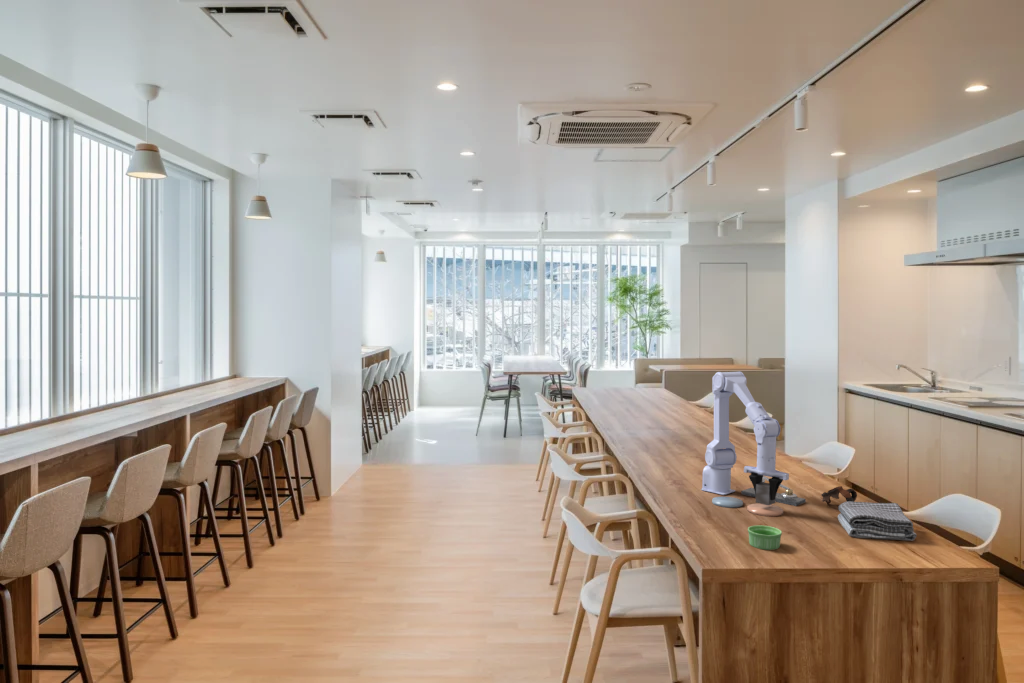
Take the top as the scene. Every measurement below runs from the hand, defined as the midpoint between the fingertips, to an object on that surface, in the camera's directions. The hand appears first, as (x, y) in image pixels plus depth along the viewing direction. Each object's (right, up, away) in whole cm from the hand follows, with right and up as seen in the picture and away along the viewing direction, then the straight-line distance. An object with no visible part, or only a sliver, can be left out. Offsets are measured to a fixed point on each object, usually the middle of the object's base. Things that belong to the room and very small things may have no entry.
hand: (765, 497), depth 228 cm
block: (0, -2, 0) cm, 2 cm away
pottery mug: (+27, -5, +5) cm, 28 cm away
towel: (+25, -6, -20) cm, 33 cm away
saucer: (-10, -4, +9) cm, 14 cm away
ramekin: (-12, -6, -32) cm, 35 cm away
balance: (+8, -4, +16) cm, 19 cm away
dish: (0, -4, 0) cm, 4 cm away
